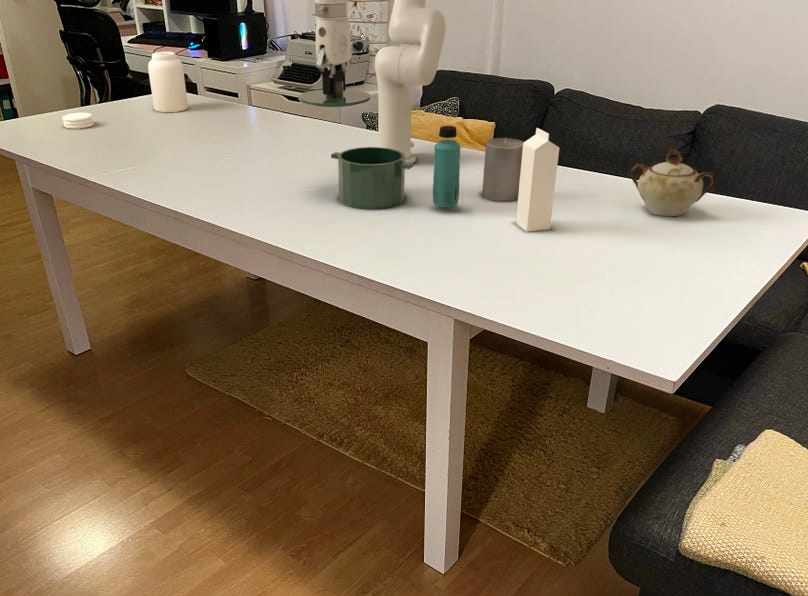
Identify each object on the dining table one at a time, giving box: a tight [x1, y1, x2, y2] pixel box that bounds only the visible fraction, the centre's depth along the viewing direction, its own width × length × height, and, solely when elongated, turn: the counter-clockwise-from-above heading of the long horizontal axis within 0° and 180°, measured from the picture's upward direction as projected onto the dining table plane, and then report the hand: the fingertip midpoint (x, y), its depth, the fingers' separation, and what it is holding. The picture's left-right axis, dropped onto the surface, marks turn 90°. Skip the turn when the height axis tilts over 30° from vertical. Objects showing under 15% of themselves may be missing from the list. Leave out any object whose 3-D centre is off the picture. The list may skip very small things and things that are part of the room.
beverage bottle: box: [432, 125, 461, 208], centre depth 180 cm, size 6×7×20 cm
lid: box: [298, 79, 371, 108], centre depth 184 cm, size 18×18×5 cm
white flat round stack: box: [61, 112, 95, 130], centre depth 259 cm, size 10×10×4 cm
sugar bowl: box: [629, 149, 716, 217], centre depth 180 cm, size 20×15×15 cm
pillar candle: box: [481, 136, 525, 202], centre depth 190 cm, size 10×10×15 cm
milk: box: [515, 127, 560, 233], centre depth 169 cm, size 6×6×22 cm
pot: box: [330, 146, 414, 210], centre depth 189 cm, size 17×22×11 cm
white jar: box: [147, 51, 189, 113], centre depth 277 cm, size 12×12×20 cm
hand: (334, 91), depth 184 cm, fingers closed on lid, 4 cm apart
